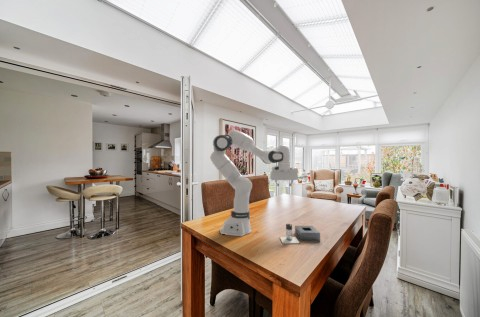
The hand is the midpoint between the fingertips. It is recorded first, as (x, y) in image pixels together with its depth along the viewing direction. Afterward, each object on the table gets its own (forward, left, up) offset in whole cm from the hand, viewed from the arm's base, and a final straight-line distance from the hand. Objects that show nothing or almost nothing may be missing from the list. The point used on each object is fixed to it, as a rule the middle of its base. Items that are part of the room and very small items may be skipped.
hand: (284, 186), depth 129 cm
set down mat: (-2, -21, -31) cm, 38 cm away
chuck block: (+11, -15, -31) cm, 36 cm away
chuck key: (-2, -20, -30) cm, 37 cm away
